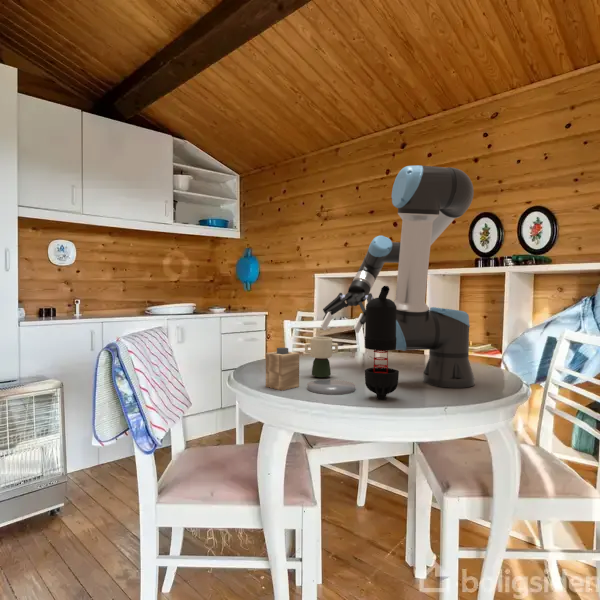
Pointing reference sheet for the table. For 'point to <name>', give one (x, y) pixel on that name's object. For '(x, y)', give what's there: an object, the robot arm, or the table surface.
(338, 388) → the coaster
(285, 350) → the dark grey tall cylinder
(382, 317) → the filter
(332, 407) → the table surface
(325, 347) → the character mug
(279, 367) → the block
